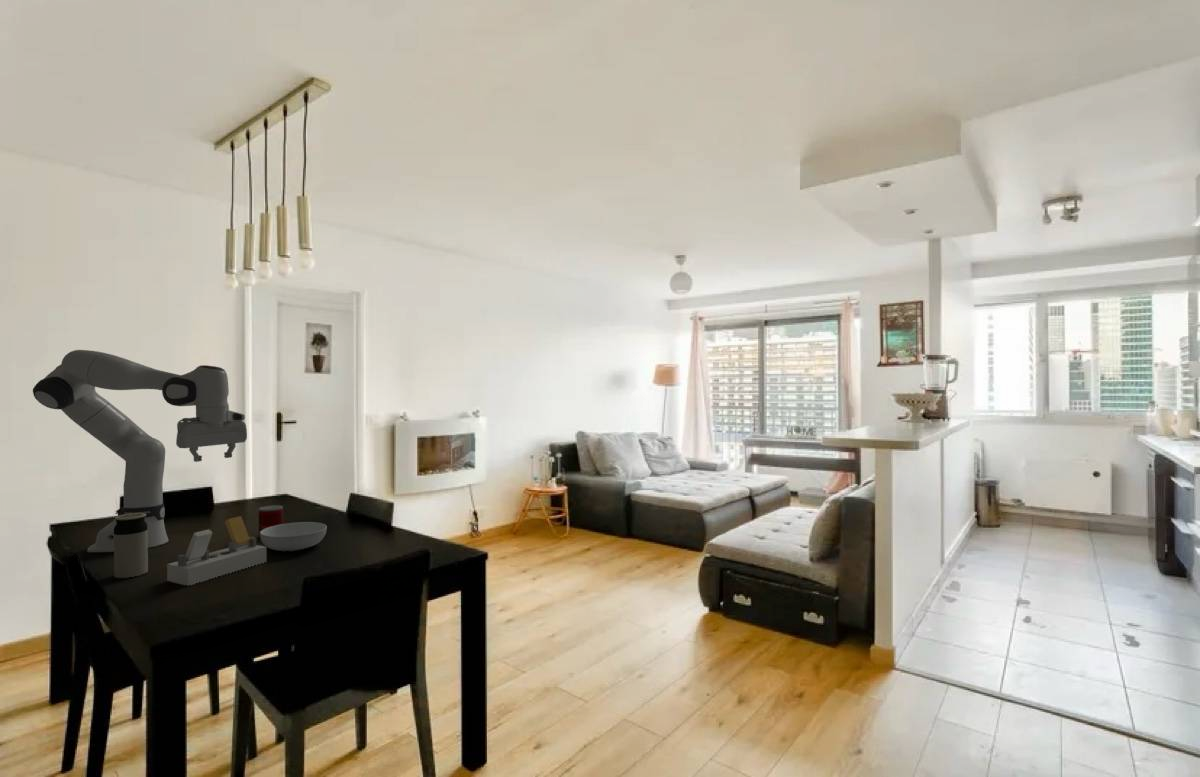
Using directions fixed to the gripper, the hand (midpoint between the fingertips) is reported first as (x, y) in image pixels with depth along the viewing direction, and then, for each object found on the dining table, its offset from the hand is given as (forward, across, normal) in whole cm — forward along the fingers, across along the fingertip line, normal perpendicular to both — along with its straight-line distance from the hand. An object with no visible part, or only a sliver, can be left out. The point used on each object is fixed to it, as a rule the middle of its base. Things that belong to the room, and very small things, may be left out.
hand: (213, 459), depth 187 cm
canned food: (+34, +30, +15) cm, 48 cm away
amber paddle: (+28, +4, -8) cm, 29 cm away
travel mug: (+34, -17, +12) cm, 40 cm away
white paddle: (+28, -11, -8) cm, 31 cm away
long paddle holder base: (+34, -4, -8) cm, 35 cm away
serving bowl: (+34, +23, -6) cm, 42 cm away
